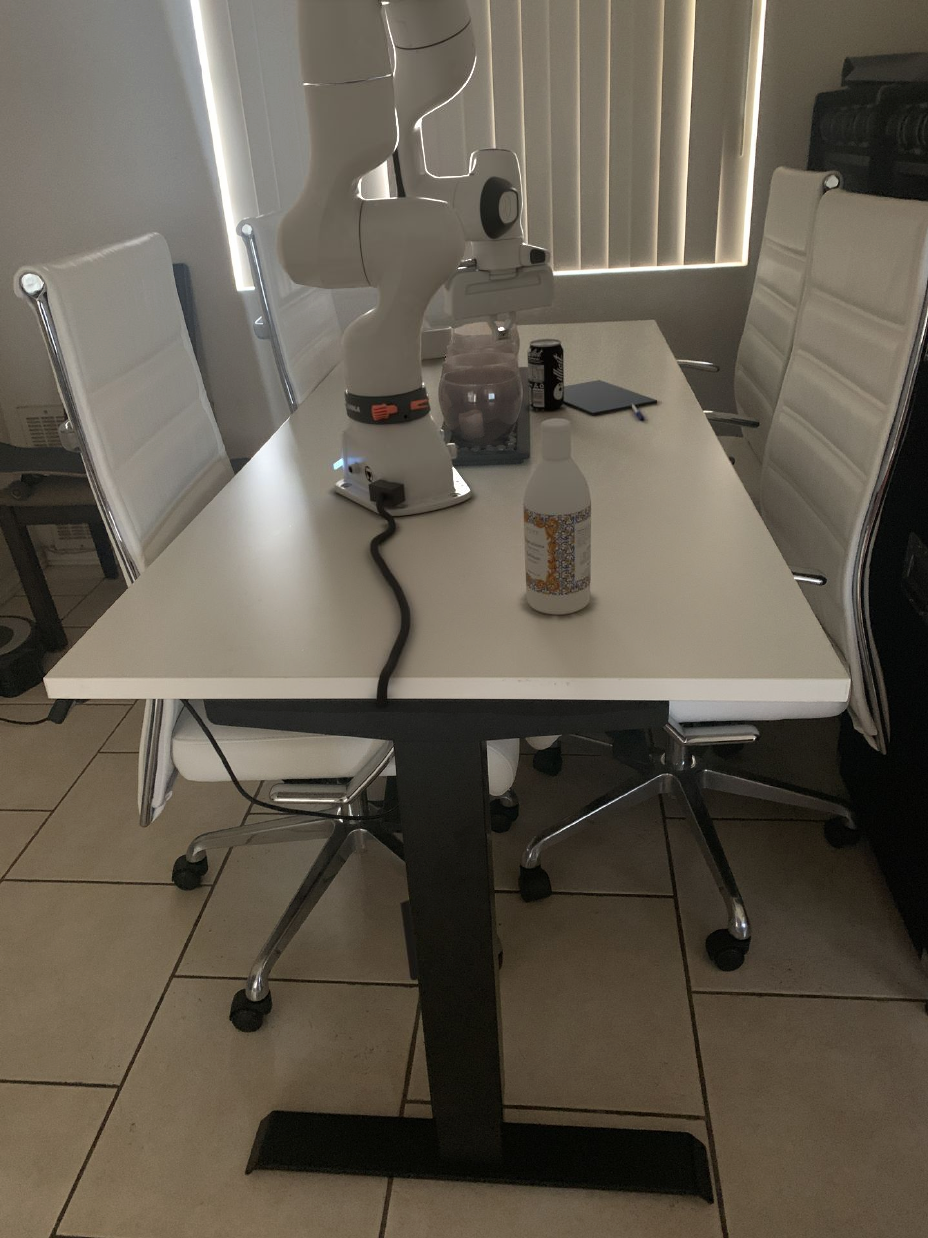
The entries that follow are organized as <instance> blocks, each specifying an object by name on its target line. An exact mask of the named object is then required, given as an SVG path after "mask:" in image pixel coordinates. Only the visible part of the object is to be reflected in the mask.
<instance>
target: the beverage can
mask: <svg viewBox="0 0 928 1238" xmlns="http://www.w3.org/2000/svg"><path fill="white" fill-rule="evenodd" d="M564 351H565V350H564V348H563V346H562V341H561V340H560V339H556V338H541V339H540V338H539V339H534V340H531V341H529V347H528V349H527V354H526V355H527V388H528V389H527V390H528V405H529V406H530V408H531V409H532V410H534V411H537V412H553V411H557V410H559V409H561V408H562V406H563V405H564V386H565V374H564V373H565V371H564V370H565V369H564V368H565V367H564V364H565V363H564V362H565V361H564V360H565V359H564V357H565V356H564V354H565V353H564Z"/></svg>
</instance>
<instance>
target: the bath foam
mask: <svg viewBox="0 0 928 1238" xmlns="http://www.w3.org/2000/svg"><path fill="white" fill-rule="evenodd" d="M540 426H541V427H540V429H541V430H540V433H541V458H540V460H539V461H538V463H537V465H536V466H535V467H534V469H533V471H532V472H531V474H530V476H529V478H528V480H527V483H526V485H525V489H524V495H523V503H522V505H523V507H522V508H523V532H524V533H523V535H524V536H523V537H524V560H525V561H524V563H525V564H524V565H525V569H524V570H525V589H526V590H525V591H526V593H525V594H526V601H527V603H528V605H529V606H530V607H531V608H532V609H533V610H535V611H537V612H539V613H542V614H548V615H558V616H559V615H569V614H574V613H575V612H579V611H581V610H583V609H584V608H585V607H586V606H588V605H589V602H590V601H591V578H592V577H591V575H592V574H591V573H592V571H591V570H592V566H591V565H592V562H591V561H592V560H591V559H592V555H591V554H592V497H591V492H590V487H589V484H588V481H587V479H586V477H585V476H584V474H583V472H582V470H581V469H580V467H579V466H578V464H577V463H576V461H575V460H574V459H573V458H572V457H573V456H572V423H571V421H570V420H568V419H567V418H549V419H546V420H543V421H542V422H541V425H540Z"/></svg>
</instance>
